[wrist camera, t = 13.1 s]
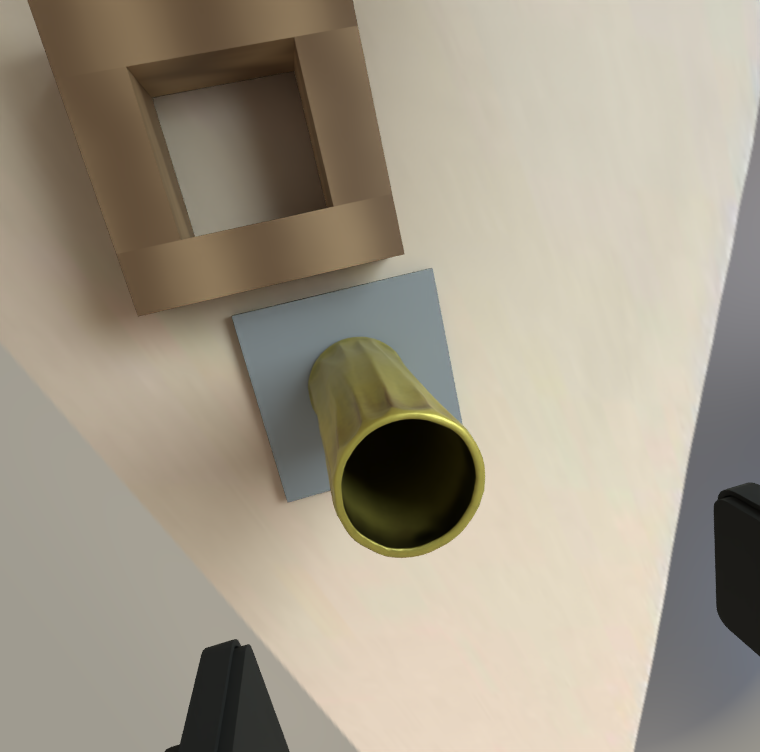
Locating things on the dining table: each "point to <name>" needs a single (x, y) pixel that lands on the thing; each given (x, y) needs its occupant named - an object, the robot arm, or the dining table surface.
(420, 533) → the vase
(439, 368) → the mat
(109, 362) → the dining table surface
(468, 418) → the dining table surface
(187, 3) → the collar
